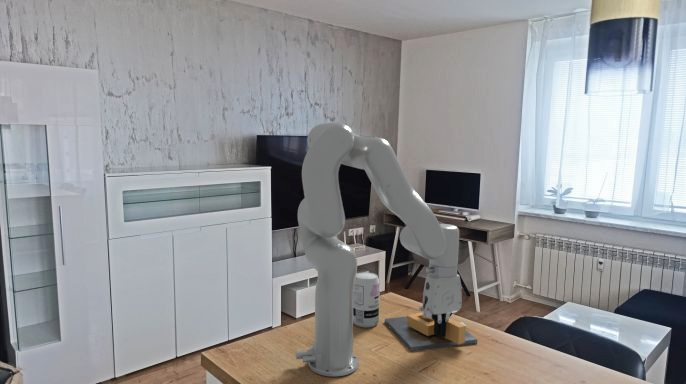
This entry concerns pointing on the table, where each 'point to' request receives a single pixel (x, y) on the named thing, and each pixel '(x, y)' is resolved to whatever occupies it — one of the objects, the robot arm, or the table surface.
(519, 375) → the table surface
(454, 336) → the tan wooden bracket
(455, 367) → the table surface
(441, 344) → the base plate
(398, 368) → the table surface
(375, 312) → the supplement can
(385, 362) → the table surface
